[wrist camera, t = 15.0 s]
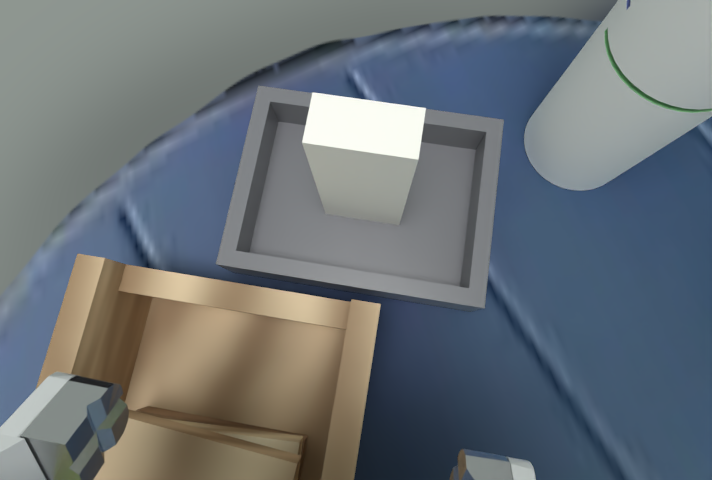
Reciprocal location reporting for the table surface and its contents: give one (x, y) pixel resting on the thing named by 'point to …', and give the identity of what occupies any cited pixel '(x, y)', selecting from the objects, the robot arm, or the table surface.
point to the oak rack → (223, 353)
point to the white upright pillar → (363, 155)
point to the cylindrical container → (625, 93)
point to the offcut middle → (256, 437)
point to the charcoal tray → (363, 237)
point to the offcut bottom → (213, 421)
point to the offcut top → (190, 454)
